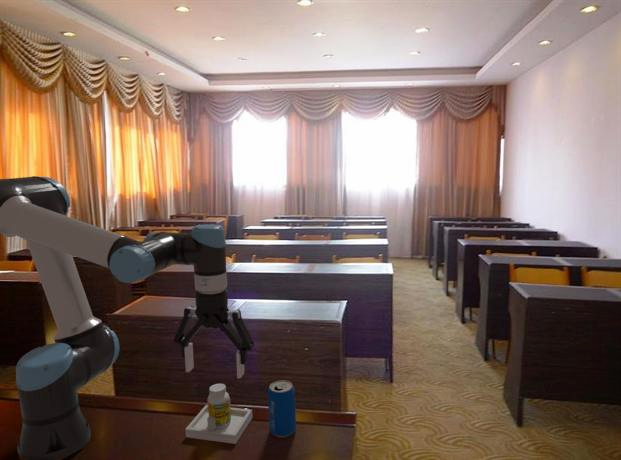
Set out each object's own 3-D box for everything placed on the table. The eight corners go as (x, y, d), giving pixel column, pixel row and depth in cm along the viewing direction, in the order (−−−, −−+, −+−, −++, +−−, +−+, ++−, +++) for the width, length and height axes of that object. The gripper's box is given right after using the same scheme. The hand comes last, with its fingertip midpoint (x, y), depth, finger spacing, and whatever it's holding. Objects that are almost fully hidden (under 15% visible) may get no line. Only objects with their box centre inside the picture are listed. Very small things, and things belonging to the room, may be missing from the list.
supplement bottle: (226, 414, 117) (223, 379, 116) (234, 424, 113) (232, 388, 111) (206, 421, 114) (203, 386, 113) (213, 431, 110) (211, 395, 108)
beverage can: (264, 432, 111) (262, 386, 109) (283, 420, 116) (281, 376, 114) (282, 442, 107) (280, 395, 105) (301, 430, 112) (300, 385, 110)
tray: (186, 437, 110) (184, 417, 109) (206, 412, 121) (205, 394, 120) (235, 443, 107) (234, 423, 106) (252, 417, 117) (251, 399, 117)
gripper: (155, 290, 107) (161, 374, 111) (254, 298, 101) (257, 386, 105) (172, 282, 114) (177, 360, 118) (266, 288, 109) (268, 370, 112)
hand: (214, 372), depth 111 cm, fingers open, 13 cm apart
